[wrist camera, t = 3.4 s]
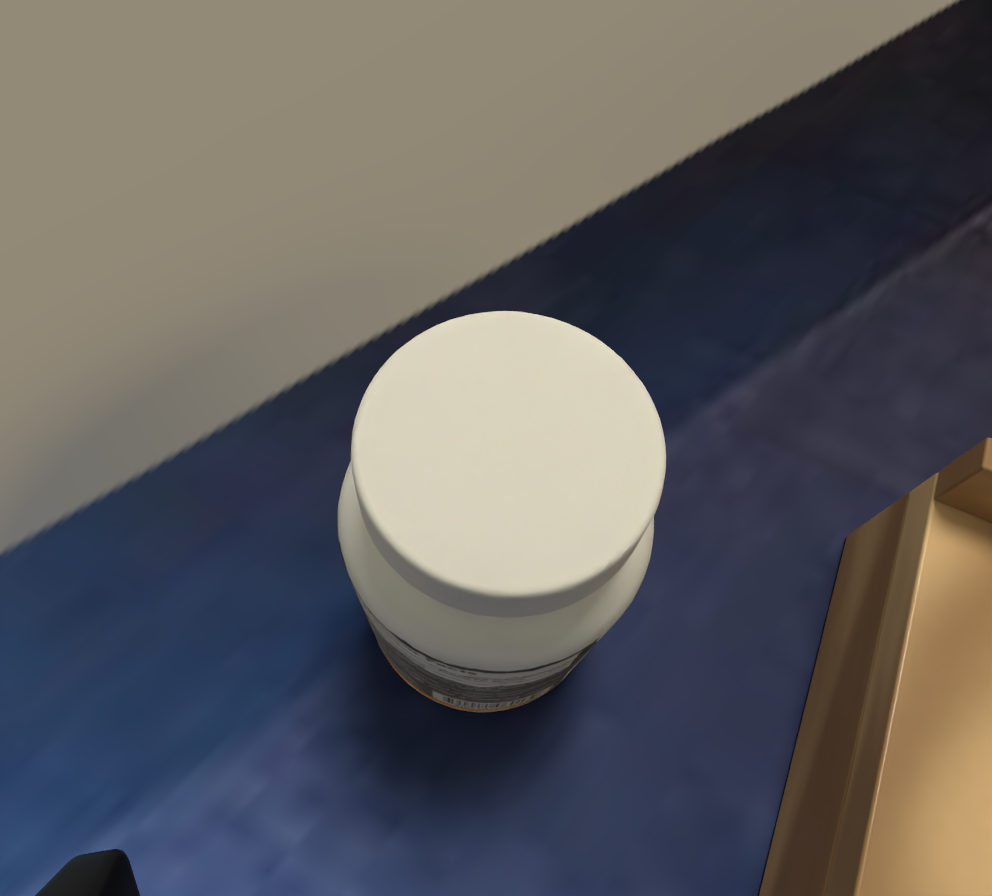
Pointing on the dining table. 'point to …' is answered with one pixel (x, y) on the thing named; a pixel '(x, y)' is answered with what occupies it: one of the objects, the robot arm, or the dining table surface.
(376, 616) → the pill bottle
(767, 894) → the shelf
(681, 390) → the dining table surface
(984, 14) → the dining table surface
